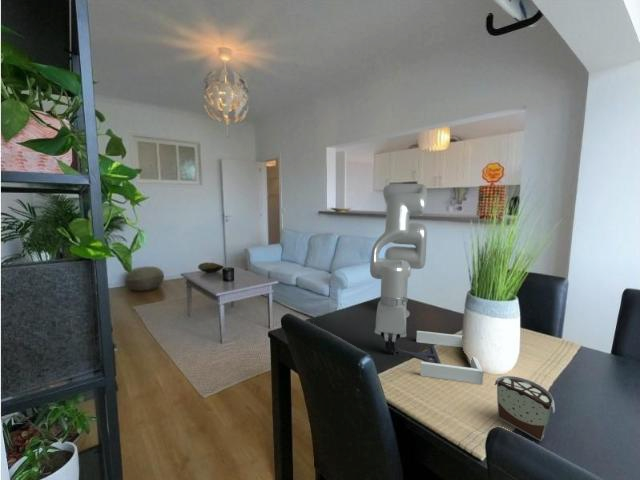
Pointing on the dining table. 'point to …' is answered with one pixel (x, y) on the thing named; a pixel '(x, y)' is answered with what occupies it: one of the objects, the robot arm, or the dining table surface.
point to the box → (449, 371)
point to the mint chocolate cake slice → (524, 405)
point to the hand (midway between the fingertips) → (389, 350)
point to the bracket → (420, 354)
